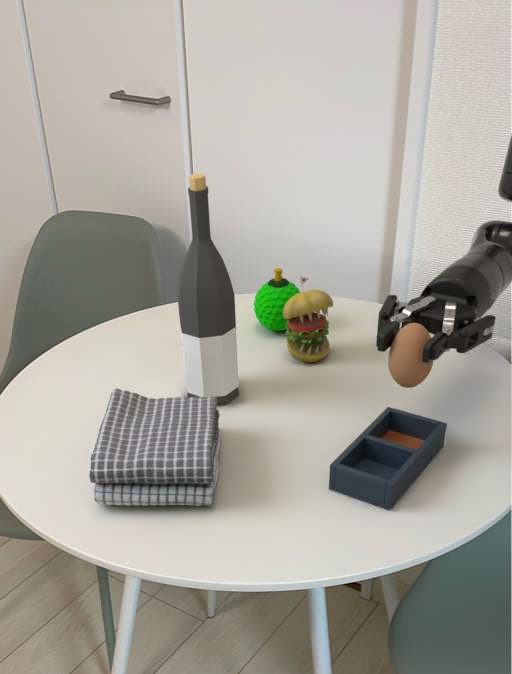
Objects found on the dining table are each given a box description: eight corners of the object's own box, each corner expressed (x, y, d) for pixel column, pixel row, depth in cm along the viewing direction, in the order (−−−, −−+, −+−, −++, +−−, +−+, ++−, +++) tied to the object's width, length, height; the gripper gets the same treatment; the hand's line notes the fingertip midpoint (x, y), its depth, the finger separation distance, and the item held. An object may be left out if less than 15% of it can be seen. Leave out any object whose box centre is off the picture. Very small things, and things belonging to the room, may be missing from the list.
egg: (410, 401, 88) (417, 338, 83) (376, 385, 91) (381, 324, 86) (439, 385, 90) (448, 323, 85) (405, 370, 93) (412, 310, 88)
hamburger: (299, 371, 114) (300, 294, 106) (273, 353, 119) (272, 279, 111) (340, 357, 117) (344, 281, 109) (313, 340, 122) (315, 267, 114)
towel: (93, 515, 91) (81, 462, 85) (113, 433, 104) (104, 382, 99) (219, 512, 89) (215, 457, 84) (222, 428, 103) (219, 377, 98)
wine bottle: (175, 390, 112) (153, 174, 93) (222, 375, 115) (210, 162, 96) (201, 413, 107) (182, 189, 87) (250, 396, 109) (242, 176, 90)
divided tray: (443, 447, 97) (447, 423, 94) (389, 510, 88) (392, 485, 85) (385, 429, 101) (388, 406, 98) (328, 489, 91) (329, 464, 89)
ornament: (303, 338, 122) (304, 278, 116) (254, 340, 123) (252, 280, 117) (302, 317, 129) (303, 259, 122) (254, 319, 129) (253, 261, 123)
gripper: (412, 254, 96) (348, 305, 86) (525, 274, 89) (469, 332, 79) (406, 310, 101) (344, 364, 91) (513, 333, 94) (459, 394, 84)
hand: (403, 349), depth 85 cm, fingers closed on egg, 5 cm apart
